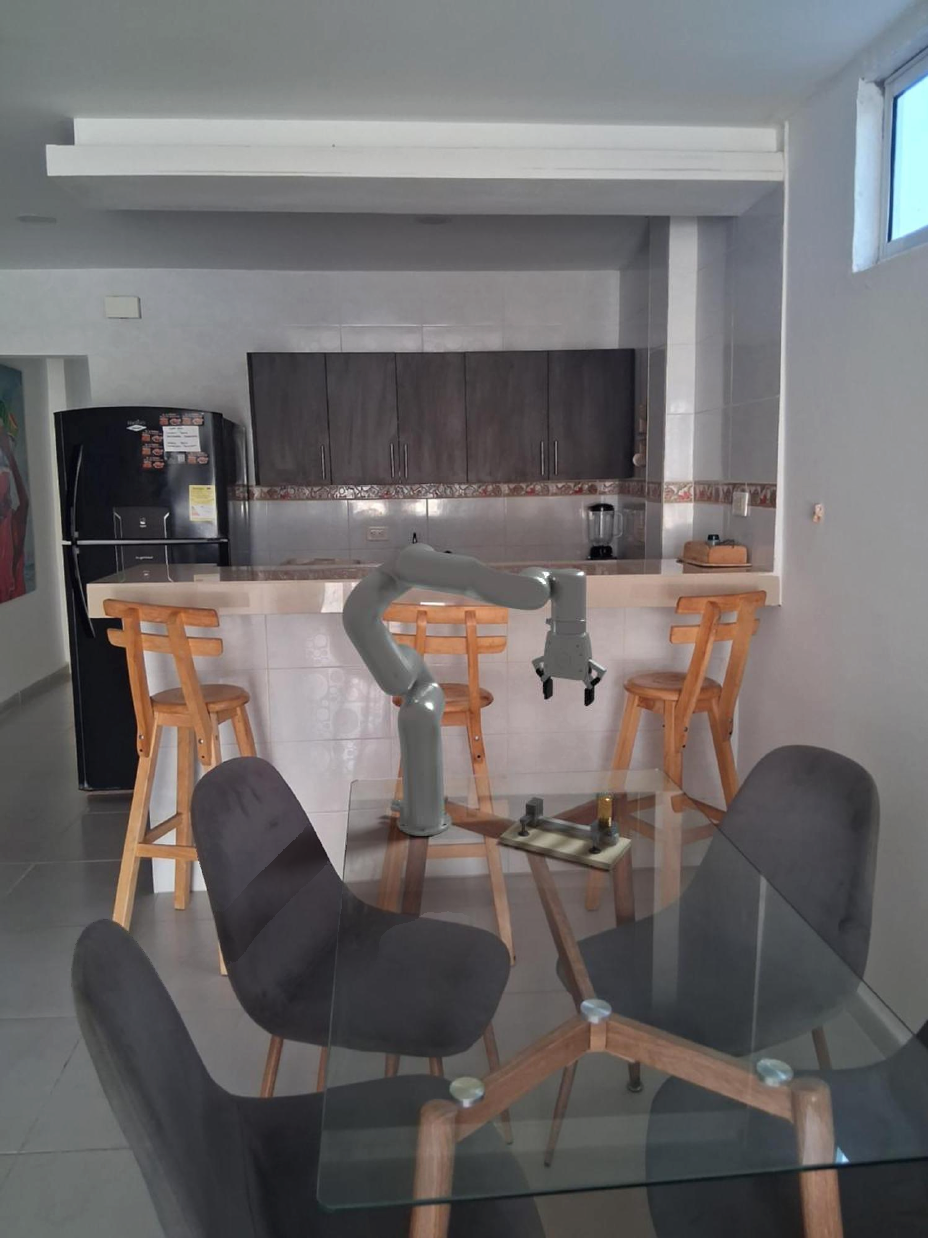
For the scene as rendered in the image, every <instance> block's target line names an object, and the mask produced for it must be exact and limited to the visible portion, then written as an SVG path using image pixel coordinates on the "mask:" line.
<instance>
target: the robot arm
mask: <svg viewBox="0 0 928 1238" xmlns="http://www.w3.org/2000/svg"><path fill="white" fill-rule="evenodd" d="M413 588H414V589H421V590H426V591H434V592H439V593H446V594H451V595H452V594H453V595H459V596H463V597H464V596H465V597H468V598H470V599H473V600H476V601H479V602H482V603H485V604H488V605H489V604H490V605H491V606H495V607H496V606H497V607H500V608H501V607H502V608H508V609H514V610H521V611H536V610H539V609H541V608H543V607H545V606H546V604H547V603H548V601H550V614H551V615H550V617H549V618H546V619H545V625H548V626H550V630H548V631H547V633H546V637H545V642H544V650H543V651H544V652H543V655H541V656H539V657H536V658H535V659H533V660H531V663H532V666H533V669H534V670H535V674H536V675H537V676H538V677H539V678H540V681H541V682H542V694H543V700H549V699H550V698H552V697H553V695H554V680H553V678H556V679H557V678H558V679H563V680H570V681H577V682H578V681H582V683H583V684H584V686H585V688H584V691H583V692H584V693H583V694H584V701H583V703H584V706H585V707H589V706H591V704H592V703H594V701H595V686H596V685H598V684H599V683H600V682H602V681H603V679H604V677H605V675H606V673H607V669H606V668H605V667H603V665H601V664H599V663H598V662H596V661H595V660H593V650H592V649H593V648H592V644H591V643H592V642H591V638H590V633H589V632H588V631H587V574H586V572H585V571H583V570H581V569H578V568H569V567H568V568H560V569H555V568H548V567H547V568H546V567H540V566H529V567H526V568H524V569H522V570H521V571H520V572H519V573H514V572H513V573H512V572H508V571H504V570H503V571H502V570H498V569H495V568H492V567H490V566H487V565H486V564H484V563H483V562H481V561H480V560H478V559H477V558H475V557H472V556H468V555H461V554H454V553H448V552H442V551H435V549H434V548H433V547H432V546H430V545H429V544H427V543H423V542H416V543H415V542H414V543H412V544H410V545H408V546H406V547H404V549H402V550H401V551H399V552H398V553H396V554H395V555H394V556H392V557H391V558H389V559H388V560H386V561H384V562H383V563H381V564H380V565H379V566H377V567H376V568H375V569H372V570H371V571H370V572H368V573H367V574H366V575H365V576H364V577H363V578H362V579H361V580H360V581H359V582H358V583H356V584H355V586H354V587H353V588H352V590H351V592H350V593H349V595H348V596H347V598H346V600H345V602H344V605H343V609H342V613H341V616H342V617H341V619H342V621H341V622H342V626H343V628H344V631H345V634H346V635H347V637H348V638H349V640H350V642H351V643H352V645H353V647H354V648H355V650H356V652H357V653H358V654H359V656H360V657H361V659H362V661H363V663H364V664H365V666H366V667H367V669H368V670H369V672H370V674H371V676H372V677H373V678H374V679H373V680H375V682H376V684H377V685H378V687H379V689H381V691H382V692H383V693H385V694H386V695H388V696H390V697H400V698H401V699H402V703H401V705H400V707H399V710H398V714H397V715H398V716H397V731H398V737H399V738H398V739H399V748H400V765H401V787H402V789H401V791H402V799H397V798H393V799H392V802H391V806H390V811H392V812H395V813H396V812H397V813H398V814H399V816H398V817H397V821H396V823H397V824H396V825H397V827H398V830H399V831H401V830H402V831H403V832H402V831H401V832H402V833H404V832H405V833H404V834H408V835H410V836H416V837H417V836H418V837H428V836H434V835H438V834H441V833H443V832H445V831H446V830H448V829H449V828H450V827H451V826H452V815H450V814H449V813H448V812H447V811H446V810H445V790H444V789H445V787H444V786H445V785H444V763H443V762H444V761H443V760H444V759H443V755H444V754H443V753H444V752H443V742H442V740H443V739H442V730H441V729H442V718H443V715H444V711H445V710H446V709H445V708H446V695H445V693H444V691H443V689H442V687H441V686H440V684H439V682H438V681H437V679H436V678H435V676H434V674H433V672H432V671H431V670H430V668H429V666H428V664H427V663H426V661H425V660H424V658H423V657H422V655H421V653H419V652H418V651H417V650H416V649H415V648H414V647H413V646H410V645H409V644H405V643H398V642H397V640H396V639H395V638H394V635H393V633H392V632H391V630H390V629H389V628H388V627H387V626H386V624H385V623H384V622H383V620H382V616H383V615H384V613H385V612H386V611H387V610H388V608H390V606H391V604H392V603H393V602H394V601H395V600H398V598H400V597H402V596H403V595H404V594H406V593H408V592H409V591H410V590H412V589H413ZM542 663H543V665H542ZM542 666H543V667H542ZM593 670H594V672H596V676H595V677H593V675H592V673H593Z"/></svg>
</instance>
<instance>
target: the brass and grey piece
mask: <svg viewBox="0 0 928 1238" xmlns="http://www.w3.org/2000/svg"><path fill="white" fill-rule="evenodd" d="M612 800H613V799H612V797H611V796H609V795H601V796H599V797H598V801H597V802H598V805H597V807H598V808H597V811H598V813H597V818H596V819H595V820H594V821H593V822H592V823H591V824H590V825H589V827H590V832H592V833H593V834H592V835H591V840H592V841H593V849H594V850H595V849H596V847H597V841H598V840H599V839H600V838H601V837H602V836H603V835H605V836H609V837H612V836H613V835H614V834H615V833H618V831H619V829H620V822H617V821H614V820H612V804H613V803H612Z"/></svg>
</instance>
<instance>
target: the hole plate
mask: <svg viewBox="0 0 928 1238" xmlns="http://www.w3.org/2000/svg"><path fill="white" fill-rule="evenodd" d="M592 834H593V833H592V832H590V825H589V826H588V825H584V824H579V823H576V822H575V823H574V822H571V821H566V820H563V819H557V818H555V817H554V818H553V817H550V816H549V817H548V816H544V799H543V798H540V797H534V796H533V797H532V798H530V799H529V800H528V801H527V802H526V803H525V814H524V815H523V816H521V817H520V818H519V819H518V820H517V821H516V822H515V823H513V825H512V826H510V827H509V828H508V829H507V830H506V831H504V832H503V833H502V834H501V835H500V837H499V839H500V840H499V843H500V844H505V845H508V846H512V847H516V848H519V849H525V850H528V851H532V852H536V853H540V854H544V855H548V856H551V857H556V858H559V859H563V860H568V861H571V862H575V863H579V864H582V865H587V864H588V866H591V865H593V866H592V867H594V868H599V869H603V870H606V871H607V870H608V871H611V870H612V869H613V868H614V867H615V866H616V864H618V862H619V861H620V860H621V858H622V857H623V856H624V855H625V854H626V853H627V852H628V850H629V849H630V848H631V847H632V839H629V838H626V837H625V838H624V837H620V833H618V832H616V833H615V834H614V835H613V836H612V837H609V836H605V835H603V836H602V837H601V838H600V839H599V840H598V841H597V847H596V849H595V850H594V849H593V841H592V840H591V835H592Z"/></svg>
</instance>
